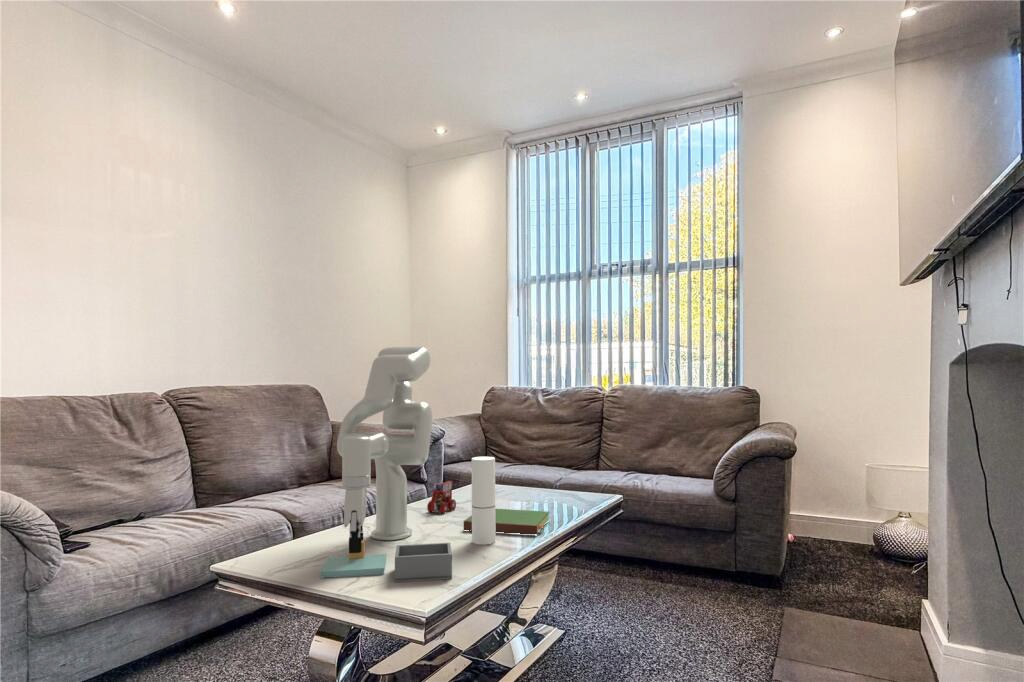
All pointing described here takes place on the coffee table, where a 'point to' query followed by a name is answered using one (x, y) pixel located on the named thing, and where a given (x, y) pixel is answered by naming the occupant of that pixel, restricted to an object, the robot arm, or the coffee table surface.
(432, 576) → the tub
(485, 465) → the cylindrical container
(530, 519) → the hardcover book
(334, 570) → the lid
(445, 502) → the toy fire truck
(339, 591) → the coffee table surface
